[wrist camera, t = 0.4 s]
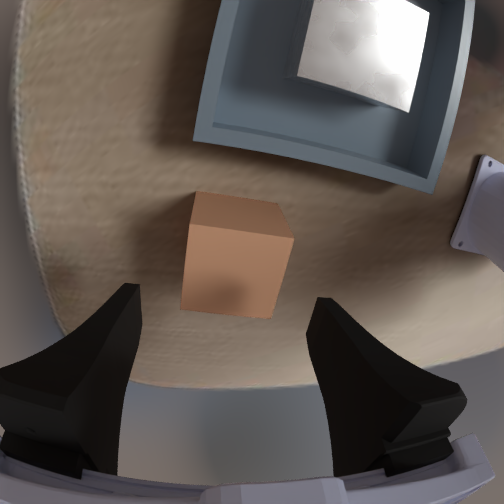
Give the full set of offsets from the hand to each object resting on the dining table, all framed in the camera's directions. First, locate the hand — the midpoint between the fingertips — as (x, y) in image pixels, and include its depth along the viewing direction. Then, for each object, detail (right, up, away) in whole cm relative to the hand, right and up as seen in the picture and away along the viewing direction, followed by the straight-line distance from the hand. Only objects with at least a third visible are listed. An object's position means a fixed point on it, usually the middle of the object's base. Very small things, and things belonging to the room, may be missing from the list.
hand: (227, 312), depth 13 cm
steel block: (+6, +14, +2) cm, 15 cm away
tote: (+6, +14, +3) cm, 16 cm away
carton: (0, +4, +8) cm, 9 cm away
